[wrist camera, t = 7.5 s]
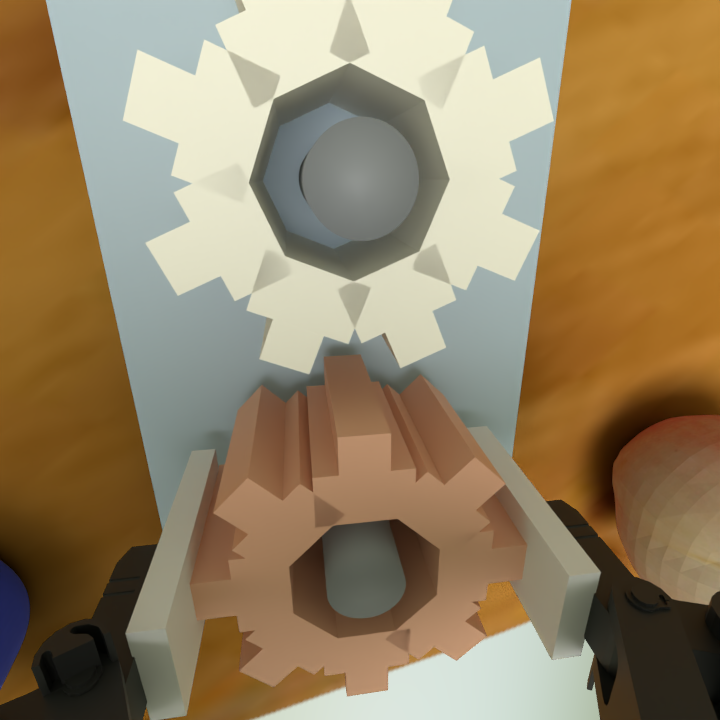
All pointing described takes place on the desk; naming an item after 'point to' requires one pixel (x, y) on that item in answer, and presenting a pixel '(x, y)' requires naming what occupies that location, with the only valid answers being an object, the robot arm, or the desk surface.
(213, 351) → the gear board
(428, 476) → the loose gear
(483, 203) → the gear
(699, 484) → the fruit
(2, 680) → the mug
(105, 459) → the desk surface
